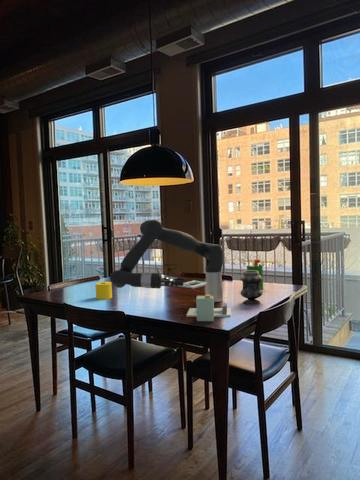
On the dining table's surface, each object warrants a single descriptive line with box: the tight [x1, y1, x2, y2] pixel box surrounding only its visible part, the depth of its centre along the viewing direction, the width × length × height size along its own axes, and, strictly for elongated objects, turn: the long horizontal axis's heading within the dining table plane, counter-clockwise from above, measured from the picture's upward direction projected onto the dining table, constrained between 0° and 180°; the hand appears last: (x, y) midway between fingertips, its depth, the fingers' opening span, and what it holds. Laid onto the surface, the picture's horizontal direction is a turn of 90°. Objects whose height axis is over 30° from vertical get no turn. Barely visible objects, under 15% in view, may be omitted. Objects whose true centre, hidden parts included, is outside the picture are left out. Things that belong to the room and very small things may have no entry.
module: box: [195, 294, 215, 322], centre depth 182 cm, size 8×6×12 cm
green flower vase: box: [246, 258, 264, 291], centre depth 246 cm, size 10×9×20 cm
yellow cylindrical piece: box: [95, 281, 113, 301], centre depth 239 cm, size 10×10×9 cm
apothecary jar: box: [239, 269, 263, 306], centre depth 210 cm, size 12×12×18 cm
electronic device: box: [178, 280, 206, 289], centre depth 268 cm, size 18×2×15 cm
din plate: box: [186, 302, 232, 318], centre depth 193 cm, size 22×12×5 cm, turn 81°
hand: (184, 281), depth 182 cm, fingers open, 8 cm apart
